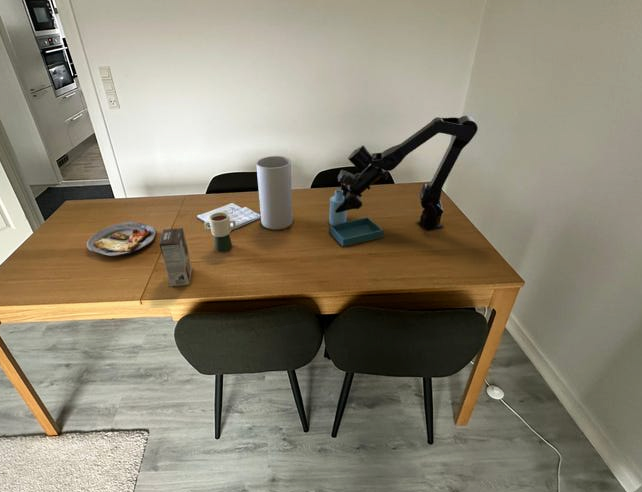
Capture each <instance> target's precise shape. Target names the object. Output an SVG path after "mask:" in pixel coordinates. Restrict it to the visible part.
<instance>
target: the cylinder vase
mask: <svg viewBox="0 0 642 492" xmlns="http://www.w3.org/2000/svg"><path fill="white" fill-rule="evenodd" d="M255 163H256V176H257V186H258V187H257V188H258V198H259V211H260V212H259V213H260V215H261V216H260V221H261V222H260V223H261V225H262V226H263V227H264V228H265V229H268V230H272V231H273V230H275V231H277V230H284V229H287V228H289V227H290V226H291V225H292V224H293V221H294V220H293V219H294V218H293V185H292V184H293V183H292V160H291V159H290V158H289V157H286V156H280V155H270V156H265V157H262V158H260V159H258V160H257V161H256V162H255Z"/></svg>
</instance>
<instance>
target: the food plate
mask: <svg viewBox="0 0 642 492" xmlns="http://www.w3.org/2000/svg"><path fill="white" fill-rule="evenodd" d="M157 234H158V233H157V230H156V228H154V227H153V226H152V225H150V224H147V223H141V222H136V221H127V222H121V223H117V224H113V225H109V226H106V227H104V228H102V229H100V230H98V231H96V233H94V234H92V235H91V237H90V238H89V239H88V240H87V242H86V247H87V249H88V250H89V251H91V252H94V253H97V254H101V255H104V256H106V257H107V256H108V257H119V256H123V255H128V254H132V253H134V252H137V251H140V250H141V249H143V248H145V247H147V246H148V245H149V244H152V242H153V241H154V240H155V238H156V235H157Z"/></svg>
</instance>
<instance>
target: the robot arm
mask: <svg viewBox="0 0 642 492" xmlns="http://www.w3.org/2000/svg"><path fill="white" fill-rule="evenodd" d="M478 130H479V127H478V124H477V122H475V120H474V118H473V117H472V116H470V115H463V116H460V117H455V116H454V117H453V116H450V117H440V116H439V117H434V118H433V119H432V120H431V121H430V122H428V123H427V124H425V126H423V127H421V128H420V129H419V130H418V131H416V132H414V133H413V134H412V135H411V136H409V137H408V138H407V139H405V140H404V141H402V142H401V143H399V144H396V145H393V146H391V147H389V148H387V149H385V150H383V151H381V152H373V153H370V151H369V150H368V149H367V148H366V146H365V145H361V146H359V147H358V148H356V149H354V150H353V151H352V152H351V153H350V154H349V156H348V157H347V160H348V161H349V162H350V163H351V164H352V165H353V166H354V167H355V168H356V169H357V170H358V171H359V170H360V171H362V172H361V173H359V172H356V173H355V174H354V173H352V172H349V171H347V170H344V169H341V170H340V172H339V174H338V175H337V181H338V183H340V188H339V190H342V191H343V196H344V201H343V202H342V203H341V204H340V206H339V207H338V208H337V209H336V210H335V212H336V213H339V212H343V211H346V210H347V211H349V210H359V209H361V208H362V207H363V201H362V198H361V197H363V195H362V194H363V193H364V192H365V191H366V190H367V191H369V190H371V186H372V185H373V184H374V183H376V181H378V180H379V179H380V178H381V177H382V178H383V179H384V180H387V179H388V173H389V172H392V171H393V170H394V169H396V167H398V166H399V165H400V164H401V163H402V162H403V160H404V159H406V157H407V156H408V155H409V154H411V153H413V152H414V151H415V150H416V149H418V148H419V147H420V146H422V145H423V144H425V143H426V142H428V141H429V140H431V139H432V138H434V137H435V136H436V135H438V134H445V135H449V136H450V141H449V144H448V146H447V149H446V150H445V153H444V154H443V156H442V159H441V161H440V162H439V165H438V167H437V168H436V170H435V172H434V174H433V176H432V178H431V180H430V181H429V182H428V183H425V182H424V183H423V184H422V187H421V190H419V192H418V193H419V201H420V206H421V208H422V213H421V215H420V219H419V221H417V224H418V225H420V226H421V227H422V228H424V230H426V231H432V230H436V229H439V228H443V225H442V224H441V219H442V215H443V213H444V208H443V204H442V201H441V196H442V191H443V188H444V185H445V183H446V182H447V179H448V177H449V175H450V173H451V172H452V170H453V168H454V166H455V164H456V162H457V160H458V159H459V157H460V155H461V153H462V151H463V150H464V148H465V147H466V146H467V145H468V144H470V142H471V141H472V140H473V138H475V136H476V134H477V133H478Z"/></svg>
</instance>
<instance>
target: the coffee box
mask: <svg viewBox="0 0 642 492" xmlns="http://www.w3.org/2000/svg"><path fill="white" fill-rule="evenodd" d="M158 245H159V248H160V253H161V256H162V259H163V264H164V268H165V271H166V274H167V278H168V282H169V286H170V287H178V286H190V284H191V277H192V271H193V267H192V263H191V258H190V254H189V249H188V245H187V241H186V236H185V231H184V227H180V228H179V227H178V228H165V229H162V232H161V236H160V240H159V244H158Z"/></svg>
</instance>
